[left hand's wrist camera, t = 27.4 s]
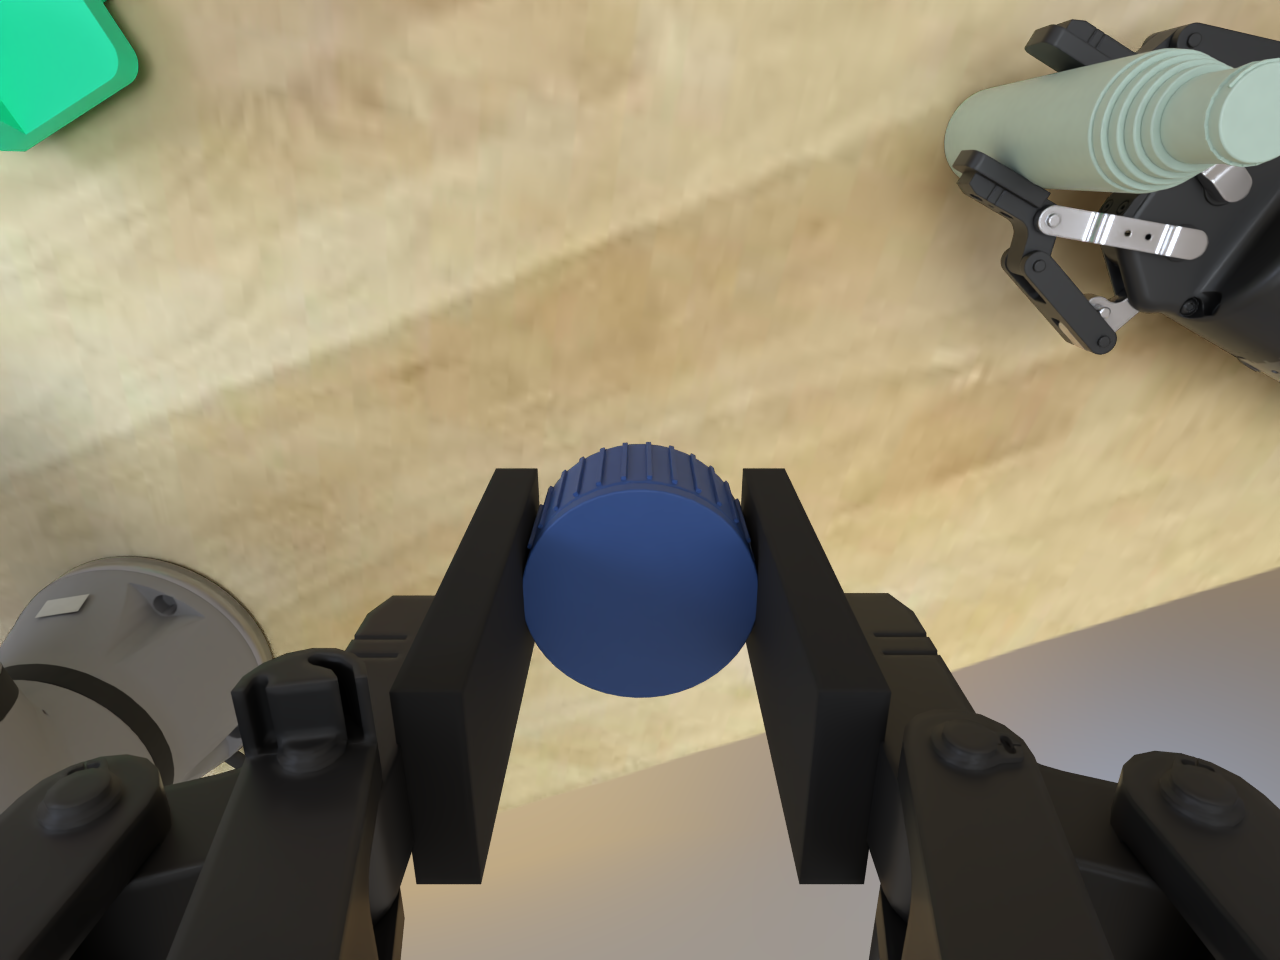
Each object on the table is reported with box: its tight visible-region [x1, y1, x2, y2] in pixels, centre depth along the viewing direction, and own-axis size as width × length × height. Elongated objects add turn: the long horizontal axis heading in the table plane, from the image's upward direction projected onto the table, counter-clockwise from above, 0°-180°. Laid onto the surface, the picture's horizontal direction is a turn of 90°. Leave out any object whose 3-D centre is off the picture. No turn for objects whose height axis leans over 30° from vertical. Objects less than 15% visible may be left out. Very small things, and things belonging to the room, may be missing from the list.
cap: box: [523, 442, 758, 698], centre depth 13 cm, size 4×4×2 cm
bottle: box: [944, 48, 1280, 194], centre depth 30 cm, size 4×4×19 cm
